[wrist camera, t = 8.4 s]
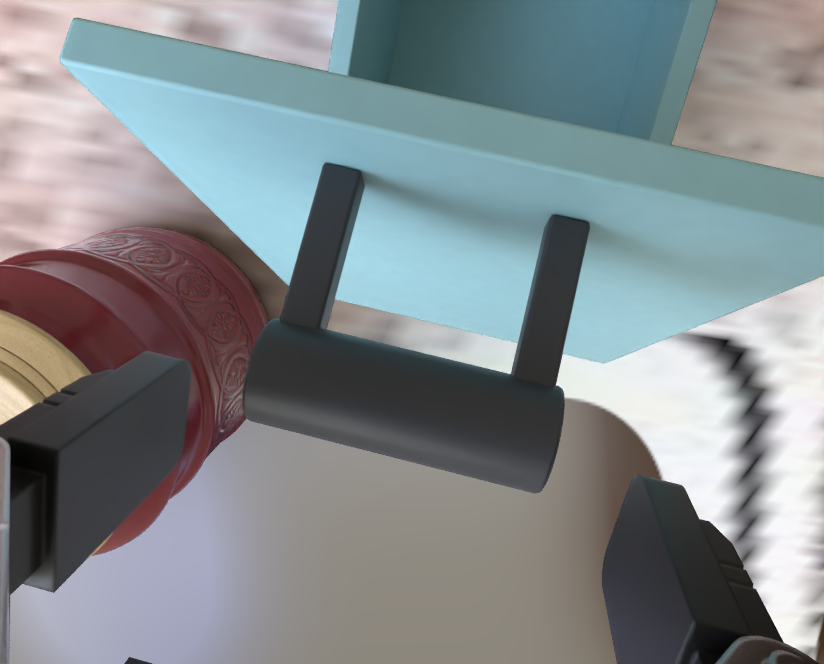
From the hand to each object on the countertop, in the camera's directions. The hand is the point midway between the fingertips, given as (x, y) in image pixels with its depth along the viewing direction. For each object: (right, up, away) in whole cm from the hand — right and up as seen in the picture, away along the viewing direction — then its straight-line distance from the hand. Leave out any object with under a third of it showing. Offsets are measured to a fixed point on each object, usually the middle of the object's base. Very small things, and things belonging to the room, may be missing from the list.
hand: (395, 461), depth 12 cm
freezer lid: (+1, +4, +6) cm, 8 cm away
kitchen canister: (-14, +2, +27) cm, 30 cm away
